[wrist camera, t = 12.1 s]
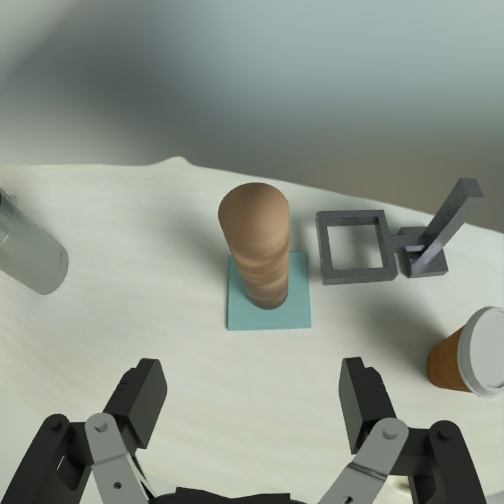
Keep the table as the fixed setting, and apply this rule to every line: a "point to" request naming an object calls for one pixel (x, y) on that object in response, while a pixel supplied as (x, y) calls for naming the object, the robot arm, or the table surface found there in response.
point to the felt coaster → (283, 317)
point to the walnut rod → (258, 240)
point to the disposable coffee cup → (472, 356)
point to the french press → (9, 197)
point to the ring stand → (401, 238)
